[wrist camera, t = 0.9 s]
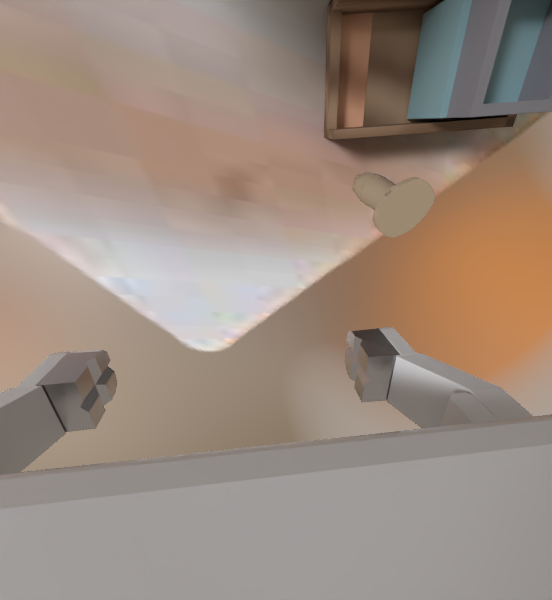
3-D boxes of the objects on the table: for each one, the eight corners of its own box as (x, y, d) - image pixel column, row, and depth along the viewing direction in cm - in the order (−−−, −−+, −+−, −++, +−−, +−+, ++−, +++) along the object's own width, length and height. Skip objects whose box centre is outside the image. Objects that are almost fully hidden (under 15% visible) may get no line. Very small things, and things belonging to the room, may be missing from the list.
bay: (327, 6, 32) (339, -15, 27) (517, -7, 32) (565, -31, 27) (324, 137, 39) (333, 139, 34) (480, 125, 39) (512, 126, 34)
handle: (388, 177, 42) (442, 200, 30) (356, 210, 45) (393, 245, 32) (368, 153, 41) (417, 168, 28) (335, 189, 43) (367, 218, 30)
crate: (423, 14, 32) (498, -36, 22) (510, 8, 32) (625, -44, 22) (406, 118, 37) (461, 117, 27) (481, 113, 37) (563, 110, 27)
